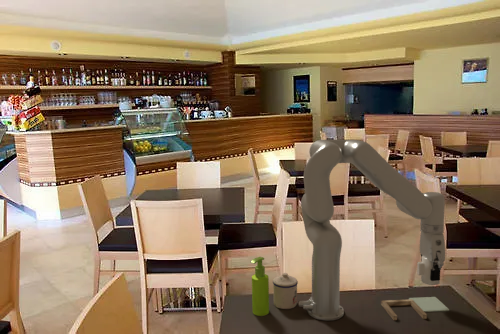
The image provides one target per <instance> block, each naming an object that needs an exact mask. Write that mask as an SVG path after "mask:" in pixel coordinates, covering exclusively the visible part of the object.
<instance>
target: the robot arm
mask: <svg viewBox="0 0 500 334" xmlns="http://www.w3.org/2000/svg"><path fill="white" fill-rule="evenodd" d="M308 153H309V156H310V158H309V160H308V161H307V163H306V165H305V167H304V170H303V184H304V185H303V186H304V194H303V195H302V197H301V200H300V207H301V213H302V215H301V216H302V220H303V224H304V229H305V234H306V237H307V238H308V240H309V241H310V243H311V244H312V255H311V256H312V257H311V296H309V299H307V300H299V301H298V300H297V306H298V307H302V308H303V310H306V311H307V314H308V315H309V316H311V317H312V318H314V319H317V320H320V321H324V322H325V321H330V322H331V321H336V320H339V319H341V318H342V317H343V316H344V314H345V309H344V307H343V306H342V305H340V290H341V288H340V286H341V285H340V284H341V283H340V279H341V278H340V276H341V275H340V274H341V273H340V272H341V271H340V268H341V264H340V263H341V252H342V247H343V240H342V236H341V234H340V232H339V230H338V229H337V228H336V227H335V226H334V225H333V224H332V223H331V222H330V221H331V219H332V218H333V215H334V213H335V207H334V206H335V205H334V201H333V197H332V190H331V183H330V182H331V180H330V177H331V173H332V171H333V170H334V168H335V167H337V165H338V164H352V165H353V166H354V167H355V168H356V169H357V170H358V171H360V173H362V175H364V176H365V178H366V179H368V180H369V181H370V183H372V184H373V186H375V187H376V188H377V189H379V190H380V191H382V192H383V193H385V194H387V195H388V196H390V197H391V198H392V199H394V200H396V201H395V205H396V207H397V209H398V210H399V211H401V212H403V214H406V215H408V216H409V217H412V218H413V219H417V220H420V222H419V223H420V227H419V228H420V229H419V231H420V234H419V235H420V237H419V253H420V257H421V258H420V260H421V261H420V262H422V256H424V257H425V258H427V259H428V260H429V261H431V267H432V269H431V273H430V280H431V281H439V280H440V281H441V271H442V268H443V267H444V264H445V263H444V262H445V261H446V243H445V242H446V241H445V236H444V230H445V229H444V228H445V205H446V204H445V202H446V199H445V195H444V194H443V193H441V192H436V191H426V192H422V191H420V189H419V188H418V187H417V186H416V185H414V184H413V183H412V182H410V181H409V179H407V178H406V177H404V175H403V174H402V173H400V172H399V170H397V169H395V168H394V167H393V166H392V165H391V164H390V163H389V162H388V161H387V160H386V159H385V158H384V157H383V156H382V155H381V153H379V152H378V151H377V150H376V149H375V148H374V147H373V146H372V145H371V144H370V143H368V142H366V141H364V140H359V139H318V140H316V141H314V142H313V143H312V144H311V146H310V147H309V152H308ZM434 259H437V261H434ZM434 263H437V264H436V265H435V266H434Z"/></svg>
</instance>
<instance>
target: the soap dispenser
mask: <svg viewBox="0 0 500 334" xmlns="http://www.w3.org/2000/svg"><path fill="white" fill-rule="evenodd" d="M264 260H265V257H262V256H258V257H254V258H252V260H250V263H251V264H257V265H255V267H254V274H253V275H251V301H252V302H251V303H252V304H251V305H252V314H253V315H255V316H258V317H263V316H267V315H268V314H269V313H270V290H269V289H270V288H269V287H270V285H269V281H270V280H269V275H268V274H266V269H265V265H263V261H264Z"/></svg>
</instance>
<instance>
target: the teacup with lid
mask: <svg viewBox="0 0 500 334" xmlns="http://www.w3.org/2000/svg"><path fill="white" fill-rule="evenodd" d="M272 284H273V285H272V286H273V287H272V289H273V305H274V307H276V308H278V309H282V310H290V309H294V308H295V307H296V306H298V284H299V281H298V279H297V278H296V277H294V276H292V275H289V274H288V273H286V272H284V273H282V274H281V275H278V276H275V277H274V278H273V280H272Z"/></svg>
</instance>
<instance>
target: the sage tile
mask: <svg viewBox="0 0 500 334" xmlns="http://www.w3.org/2000/svg"><path fill="white" fill-rule="evenodd" d="M408 299H412V300H413V301H414V302H415V303H416V304H417V305H418V306H419V307H420V308H421V309H422V310H423V311H424V312H425V313H428V312H431V313H432V312H449V311H450V309H449V308H448V307H447V306H446V305H445V304H444V303H443V302H442V301H440V300H439V299H438V298H437V297H436V296H431V297H430V296H426V297H424V296H423V297H420V296H419V297H408Z"/></svg>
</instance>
